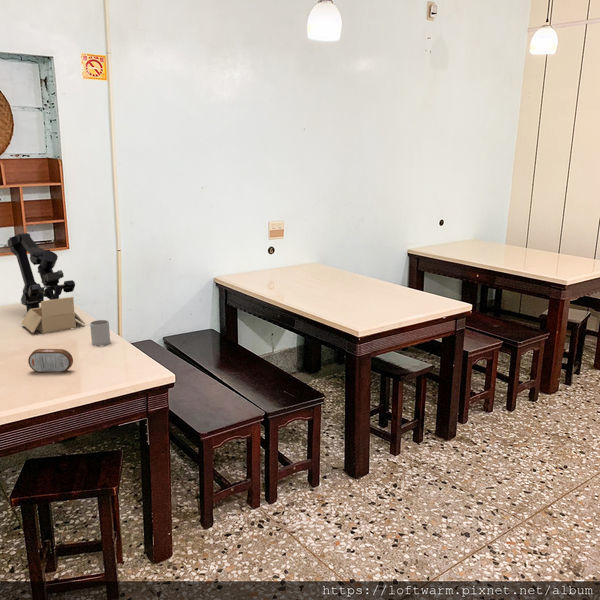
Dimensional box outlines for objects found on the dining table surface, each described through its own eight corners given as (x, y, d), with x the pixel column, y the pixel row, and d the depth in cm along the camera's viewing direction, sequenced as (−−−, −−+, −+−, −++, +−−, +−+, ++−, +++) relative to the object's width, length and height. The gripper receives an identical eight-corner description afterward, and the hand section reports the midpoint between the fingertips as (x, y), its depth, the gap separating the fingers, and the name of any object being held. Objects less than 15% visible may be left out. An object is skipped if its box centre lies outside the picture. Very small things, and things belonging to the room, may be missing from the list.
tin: (74, 370, 215) (72, 348, 213) (71, 373, 212) (69, 350, 210) (32, 370, 215) (29, 348, 212) (28, 373, 212) (25, 351, 209)
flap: (42, 317, 254) (42, 317, 255) (74, 312, 262) (73, 312, 263) (41, 301, 252) (40, 301, 253) (73, 297, 260) (72, 296, 261)
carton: (18, 324, 270) (16, 308, 269) (69, 315, 284) (67, 301, 282) (32, 335, 254) (31, 319, 252) (85, 326, 267) (84, 311, 266)
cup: (95, 347, 240) (93, 326, 238) (87, 340, 248) (85, 320, 245) (112, 344, 244) (111, 323, 242) (104, 337, 252) (103, 317, 249)
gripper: (27, 267, 251) (37, 297, 246) (72, 262, 263) (82, 291, 257) (24, 282, 259) (33, 311, 254) (67, 276, 271) (78, 305, 265)
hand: (57, 304), depth 257 cm, fingers closed, pressing on flap
